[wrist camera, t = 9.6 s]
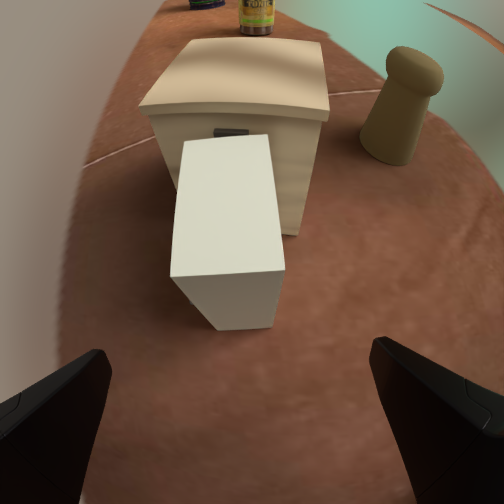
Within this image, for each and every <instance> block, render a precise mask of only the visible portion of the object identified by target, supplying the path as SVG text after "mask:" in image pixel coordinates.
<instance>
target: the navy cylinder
mask: <svg viewBox="0 0 504 504" xmlns="http://www.w3.org/2000/svg"><path fill="white" fill-rule="evenodd" d="M189 2H190V9H191V10H205V9H212V8H217V7H221V6H224V5H225V1H224V0H189Z"/></svg>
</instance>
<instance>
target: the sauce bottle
mask: <svg viewBox="0 0 504 504" xmlns="http://www.w3.org/2000/svg"><path fill="white" fill-rule="evenodd" d="M274 9H275V0H239V24H240V31H241V32H242V33H244V34H248V35H266V34H270V33H271V32H272V31H273V24H274Z"/></svg>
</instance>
